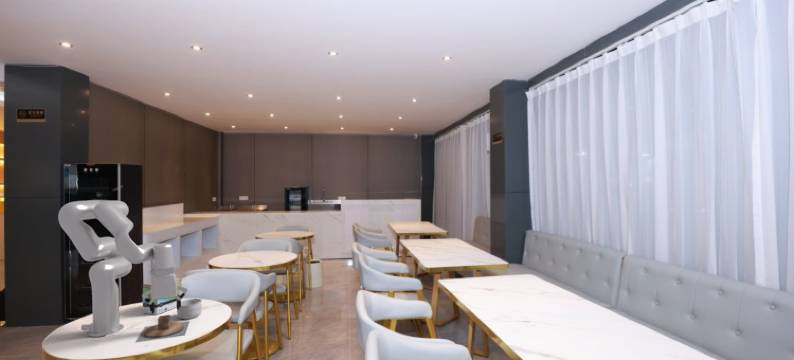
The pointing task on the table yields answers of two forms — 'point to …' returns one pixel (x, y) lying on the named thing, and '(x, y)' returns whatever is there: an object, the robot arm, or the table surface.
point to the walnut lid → (163, 328)
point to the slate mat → (181, 333)
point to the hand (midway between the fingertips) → (165, 310)
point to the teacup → (190, 308)
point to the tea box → (160, 301)
